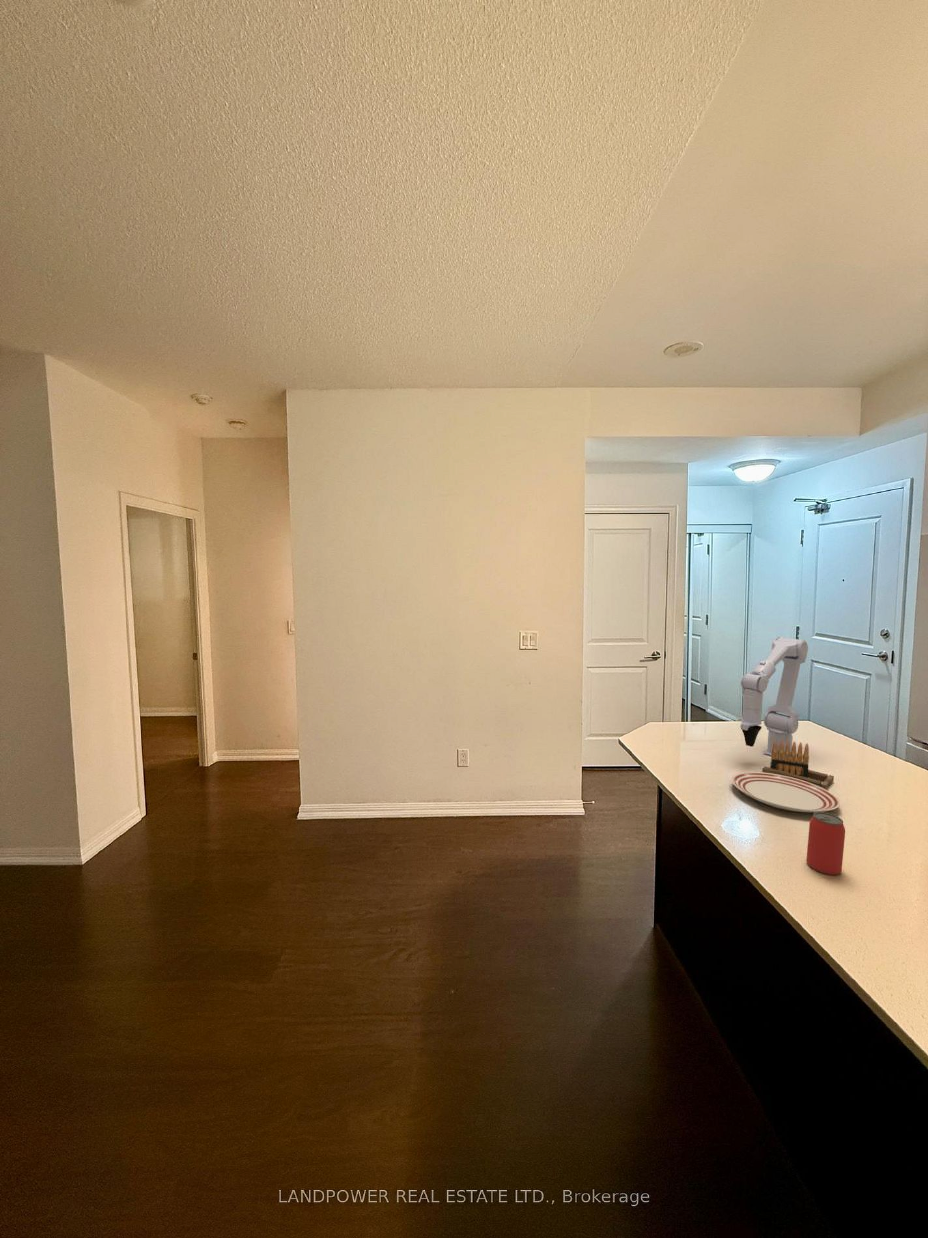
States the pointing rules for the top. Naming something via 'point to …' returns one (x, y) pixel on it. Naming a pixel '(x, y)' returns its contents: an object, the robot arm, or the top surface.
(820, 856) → the beer can
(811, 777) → the guide rails
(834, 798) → the dinner plate
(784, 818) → the top surface
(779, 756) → the ammunition clip
